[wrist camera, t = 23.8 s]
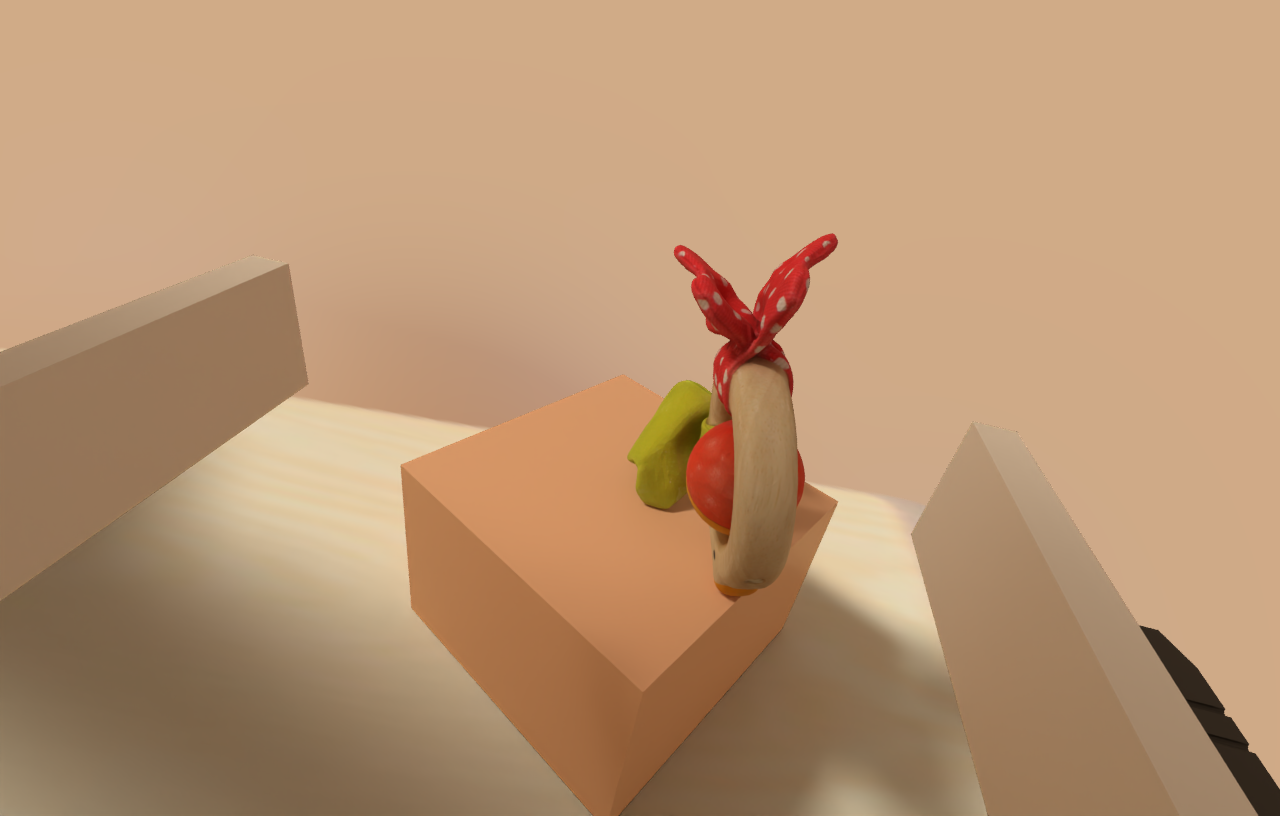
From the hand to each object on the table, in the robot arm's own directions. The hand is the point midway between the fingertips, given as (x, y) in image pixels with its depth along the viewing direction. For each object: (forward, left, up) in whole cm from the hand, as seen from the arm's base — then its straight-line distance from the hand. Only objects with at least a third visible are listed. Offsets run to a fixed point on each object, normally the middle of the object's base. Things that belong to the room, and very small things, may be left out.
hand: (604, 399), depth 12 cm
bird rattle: (0, +7, -9) cm, 11 cm away
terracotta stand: (-4, +7, -17) cm, 18 cm away
